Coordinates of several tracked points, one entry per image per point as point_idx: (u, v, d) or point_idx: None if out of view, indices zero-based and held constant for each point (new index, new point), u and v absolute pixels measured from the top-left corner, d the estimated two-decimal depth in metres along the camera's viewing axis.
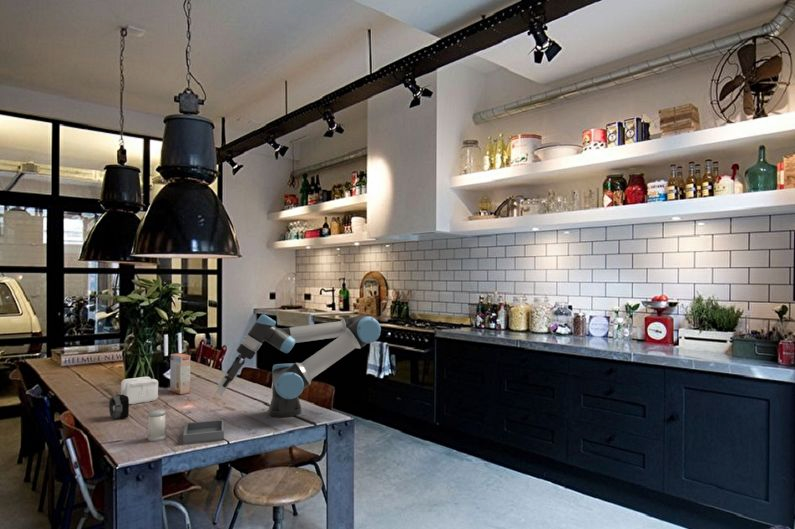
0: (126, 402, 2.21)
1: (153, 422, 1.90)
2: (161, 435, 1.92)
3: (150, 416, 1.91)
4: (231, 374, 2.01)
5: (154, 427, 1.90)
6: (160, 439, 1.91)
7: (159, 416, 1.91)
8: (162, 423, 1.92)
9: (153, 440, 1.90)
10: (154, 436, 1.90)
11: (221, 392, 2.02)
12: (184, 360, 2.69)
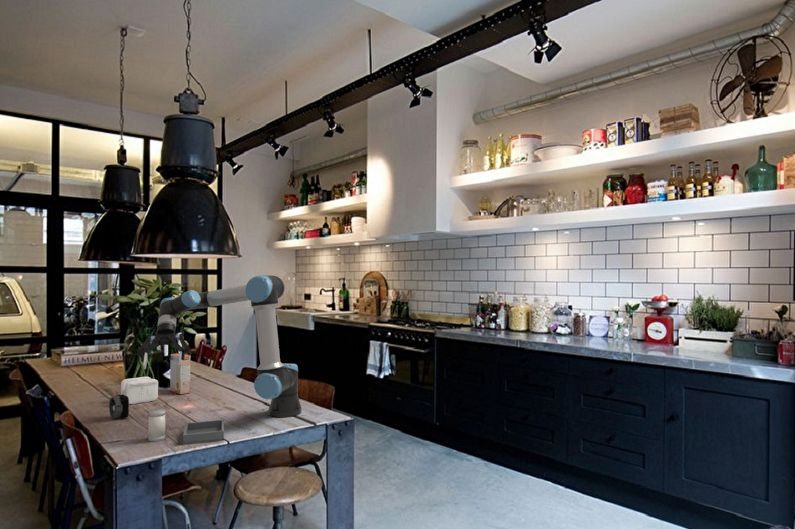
0: (126, 402, 2.21)
1: (153, 422, 1.90)
2: (161, 435, 1.92)
3: (150, 416, 1.91)
4: None
5: (154, 427, 1.90)
6: (160, 439, 1.91)
7: (159, 416, 1.91)
8: (163, 423, 1.92)
9: (153, 440, 1.90)
10: (154, 436, 1.90)
11: None
12: (184, 359, 2.69)
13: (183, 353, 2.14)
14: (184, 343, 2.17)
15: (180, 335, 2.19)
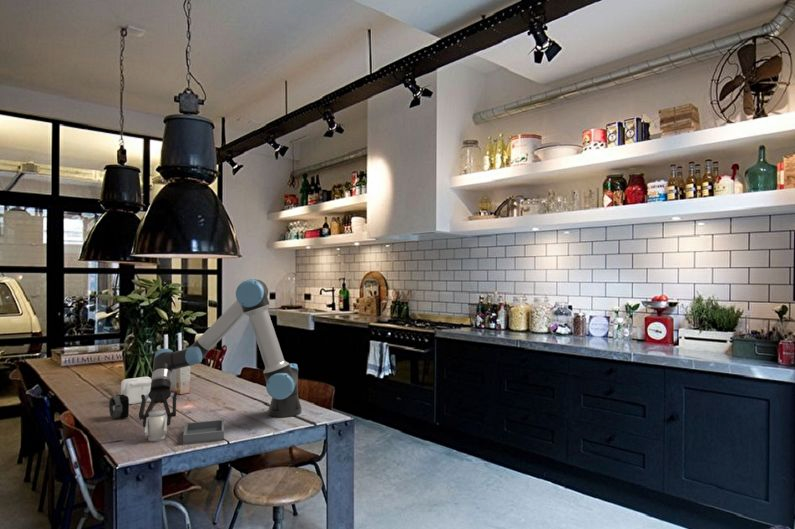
0: (126, 402, 2.21)
1: (153, 422, 1.90)
2: (161, 435, 1.92)
3: (150, 416, 1.91)
4: None
5: (154, 427, 1.90)
6: (160, 439, 1.91)
7: (159, 416, 1.91)
8: (162, 423, 1.92)
9: (153, 440, 1.90)
10: (154, 436, 1.90)
11: (145, 431, 1.89)
12: None
13: (169, 417, 1.95)
14: (174, 404, 1.99)
15: (175, 394, 2.02)
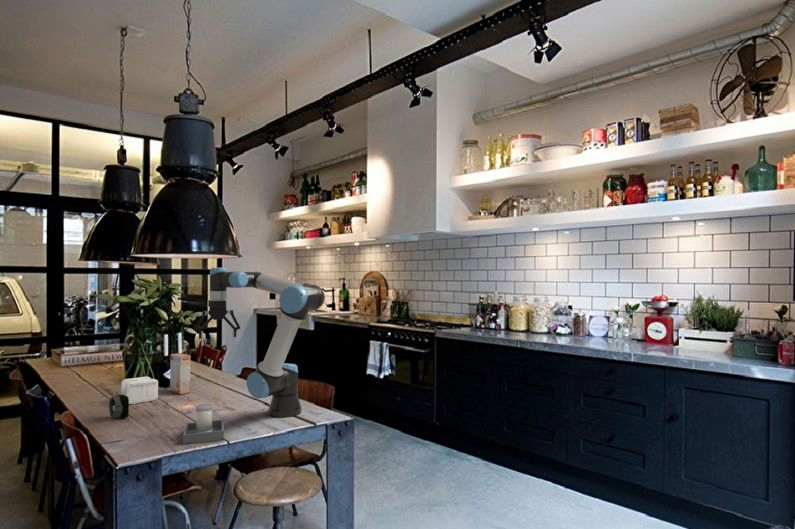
0: (126, 402, 2.21)
1: (201, 417, 1.94)
2: (209, 429, 1.96)
3: (198, 411, 1.95)
4: (196, 326, 2.30)
5: (202, 421, 1.94)
6: None
7: (207, 410, 1.96)
8: (210, 417, 1.97)
9: None
10: (203, 430, 1.94)
11: (201, 343, 2.29)
12: (184, 360, 2.69)
13: (235, 332, 2.35)
14: (235, 321, 2.34)
15: (231, 312, 2.34)
